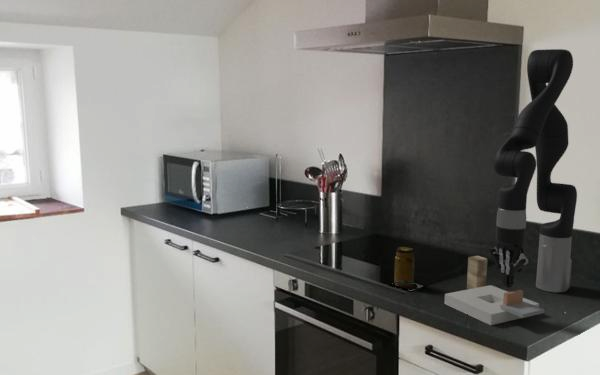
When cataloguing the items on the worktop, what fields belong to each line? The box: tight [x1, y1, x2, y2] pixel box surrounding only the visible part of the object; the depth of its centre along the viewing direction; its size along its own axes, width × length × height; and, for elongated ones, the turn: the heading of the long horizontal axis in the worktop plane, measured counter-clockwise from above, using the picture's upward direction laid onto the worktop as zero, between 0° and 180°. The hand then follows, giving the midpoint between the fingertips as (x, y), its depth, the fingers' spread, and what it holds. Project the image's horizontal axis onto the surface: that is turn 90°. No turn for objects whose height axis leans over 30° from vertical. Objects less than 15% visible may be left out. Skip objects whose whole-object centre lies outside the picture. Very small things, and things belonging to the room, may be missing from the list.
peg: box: [466, 255, 488, 290], centre depth 186 cm, size 4×4×10 cm
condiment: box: [393, 246, 424, 292], centre depth 188 cm, size 7×8×12 cm
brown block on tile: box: [500, 289, 545, 319], centre depth 159 cm, size 8×8×4 cm
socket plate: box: [444, 284, 540, 326], centre depth 170 cm, size 18×18×3 cm
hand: (507, 286), depth 164 cm, fingers closed
